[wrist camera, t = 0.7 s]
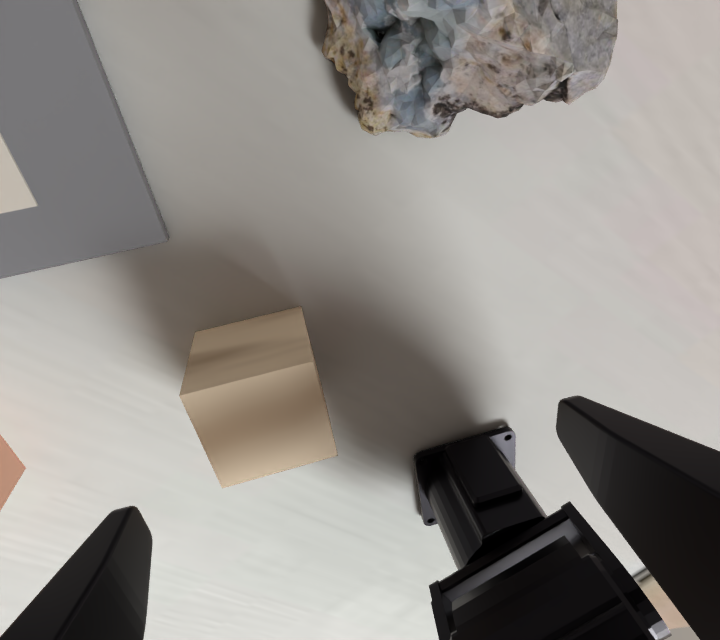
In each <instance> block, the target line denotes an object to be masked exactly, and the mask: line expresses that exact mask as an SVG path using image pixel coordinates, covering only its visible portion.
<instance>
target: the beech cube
mask: <svg viewBox="0 0 720 640" xmlns="http://www.w3.org/2000/svg"><path fill="white" fill-rule="evenodd" d="M179 396H180V398H181V400H182V403H183V405H184V407H185V409H186V411H187V413H188V415H189V418H190V420H191V422H192V424H193V426H194V428H195V431H196V433H197V435H198V437H199V439H200V441H201V443H202V446H203V448H204V450H205V452H206V454H207V456H208V459H209V461H210V463H211V465H212V467H213V469H214V471H215V474H216V476H217V478H218V480H219V482H220V484H221V487H222V488H225V487H229V486H232V485H236V484H239V483H243V482H246V481H250V480H253V479H257V478H260V477H264V476H267V475H271V474H275V473H278V472H282V471H285V470H289V469H292V468H296V467H299V466H303V465H306V464H310V463H313V462H317V461H320V460H324V459H327V458H331V457H334V456H338V454H337V450H336V445H335V441H334V437H333V432H332V428H331V424H330V419H329V415H328V411H327V406H326V402H325V398H324V393H323V389H322V385H321V381H320V377H319V374H318V370H317V366H316V362H315V358H314V354H313V350H312V347H311V343H310V339H309V335H308V331H307V327H306V323H305V320H304V316H303V312H302V308H301V306H300V307H296V308H292V309H288V310H284V311H279V312H275V313H271V314H267V315H263V316H259V317H255V318H251V319H247V320H243V321H239V322H234V323H230V324H226V325H222V326H218V327H214V328H210V329H206V330H202V331H198V332H195V335H194V339H193V343H192V347H191V351H190V355H189V359H188V363H187V367H186V371H185V375H184V379H183V383H182V387H181V391H180V395H179Z"/></svg>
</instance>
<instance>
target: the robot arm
mask: <svg viewBox="0 0 720 640" xmlns="http://www.w3.org/2000/svg"><path fill="white" fill-rule="evenodd" d="M556 431H557V435H558V438H559V439H560V441H561V443H562V445H563V446H564V448H565V449H566V451H567V453H568V454H569V456H570V458H571V459H572V461H573V463H574V464H575V466H576V468H577V469H578V471H579V473H580V474H581V476H582V478H583V479H584V481H585V483H586V484H587V486H588V488H589V489H590V491H591V493H592V494H593V496H594V497H595V499H596V500H597V502H598V503H599V504H600V506H601V507H602V509H603V510H604V511H605V513H606V514H607V515H608V517H609V518H610V519H611V521H612V522H613V523H614V525H615V526H616V527H617V529H618V530H619V532H620V533H621V534H622V536H623V537H624V538H625V540H626V541H627V542H628V544H629V545H630V546H631V548H632V549H633V550H634V552H635V553H636V554H637V556H638V557H639V558H640V560H641V561H642V562H643V564H644V565H645V566H646V568H647V569H648V570H649V572H650V573H651V574H652V576H653V577H654V578H655V580H656V581H657V582H658V584H659V585H660V586H661V588H662V589H663V591H664V592H665V593H666V595H667V596H668V597H669V599H670V600H671V601H672V603H673V604H674V605H675V607H676V608H677V609H678V611H679V612H680V613H681V615H682V616H683V617H684V619H685V620H686V621H687V623H688V624H689V625H690V627H691V628H692V629H693V631H694V632H695V633H696V635H697V636H698V637H699V639H700V640H720V451H717V450H715V449H712V448H710V447H707V446H705V445H702V444H700V443H697V442H695V441H692V440H690V439H687V438H685V437H682V436H680V435H677V434H675V433H672V432H670V431H667V430H665V429H662V428H660V427H657V426H655V425H652V424H650V423H647V422H645V421H642V420H640V419H637V418H635V417H632V416H629V415H627V414H624V413H622V412H619V411H617V410H614V409H612V408H609V407H607V406H604V405H602V404H599V403H597V402H594V401H592V400H589V399H587V398H584V397H582V396H572V397H568V398H564V399H562V400H560V402H559V404H558V413H557V423H556ZM515 438H516V435H515V433H514V431H513V430H512V429H511V428H510V427H504V428H500V429H497V430H494V431H490V432H487V433H483V434H480V435H476V436H473V437H469V438H466V439H463V440H459V441H456V442H452V443H449V444H445V445H442V446H438V447H435V448H432V449H428V450H425V451H421V452H419V453H417V454H416V455H415V456H414V459H413V460H414V467H415V474H416V481H417V488H418V495H419V501H420V508H421V515H422V519H423V522H424V524H425V525H426V526H431V525H434V524H438V525H439V527H440V529H441V532H442V534H443V536H444V539H445V541H446V543H447V546H448V548H449V550H450V553H451V555H452V557H453V560H454V562H455V564H456V567H457V569H458V571H456V572H454V573H453V574H451V575H449V576H448V577H446V578H444V579H443V580H441V581H438V580H437V581H436V582H434V583H432V584H431V585H429V588H430V593H431V597H432V602H431V605H432V609H433V614H434V618H435V623H436V627H437V632H438V636H439V640H664V639H666V638H668V637H670V636H671V632H670V631H669V629H668V627H667V626H666V624H665V623H664V621H663V619H662V618H661V617H660V615H659V614H658V612H657V611H656V609H655V608H654V606H653V605H652V604H651V602H650V601H649V599H648V598H647V597H646V595H645V594H644V593H643V591H642V590H641V588H640V587H639V586H638V584H637V583H636V582H635V581H634V579H633V578H632V577H631V575H630V574H629V573H628V571H627V570H626V569H625V568H624V566H623V565H622V564H621V563H620V561H619V560H618V559H617V558H616V556H615V555H614V554H613V553H612V552H611V550H610V549H609V548H608V547H607V546H606V544H605V543H604V542H603V541H602V540H601V538H600V537H599V536H598V535H597V534H596V532H595V531H594V530H593V529H592V528H591V526H590V525H589V524H588V523H587V522H586V520H585V519H584V518H583V517H582V516H581V514H580V513H579V512H578V511H577V509H576V508H575V507H574V506H573V505H572V503H571V502H570V501H569V502H568V503H566V504H564V505H563V506H561V509H560V510H558V511H556V512H555V513H553V514H551V515H550V516H548V517H547V515H546V514H545V512H544V511H543V509H542V508H541V507H540V505H539V504H538V502H537V501H536V499H535V498H534V496H533V495H532V494H531V492H530V491H529V489H528V488H527V486H526V485H525V484H524V482H523V481H522V479H521V478H520V476H519V475H518V473H517V472H516V471H515ZM423 459H424V460H423ZM421 460H422V461H421ZM151 555H152V535H151V532H150V530H149V528H148V526H147V524H146V522H145V521H144V519H143V517H142V515H141V513H140V511H139V510H138V508H137V507H135V506H129V507H125V508H120V509H116V510H114V511H112V512H111V513H110V514H109V515H108V516H107V517H106V518H105V519H104V520H103V521H102V522H101V524H100V525H99V526H98V527H97V528H96V529H95V530H94V532H93V533H92V534H91V535H90V536H89V537H88V538H87V539H86V541H85V542H84V543H83V544H82V545H81V546H80V547H79V548H78V550H77V551H76V552H75V553H74V554H73V555H72V556H71V558H70V559H69V560H68V561H67V562H66V563H65V564H64V565H63V567H62V568H61V569H60V570H59V571H58V572H57V573H56V574H55V576H54V577H53V578H52V579H51V580H50V581H49V582H48V584H47V585H46V586H45V587H44V588H43V589H42V590H41V591H40V593H39V594H38V595H37V596H36V597H35V598H34V599H33V601H32V602H31V603H30V604H29V605H28V606H27V607H26V608H25V610H24V611H23V612H22V613H21V614H20V615H19V616H18V617H17V619H16V620H15V621H14V622H13V623H12V624H11V625H10V627H9V628H8V629H7V630H6V631H5V632H4V633H3V634H2V636H1V637H0V640H143V638H144V631H145V625H146V616H147V604H148V592H149V580H150V567H151Z"/></svg>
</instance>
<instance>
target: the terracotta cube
mask: <svg viewBox="0 0 720 640" xmlns="http://www.w3.org/2000/svg"><path fill="white" fill-rule="evenodd" d="M25 469H26V467H25V466H24V465H23V464H22V462H21V461H20V460H19V458H18V457H17V456H16V454H15V453H14V452H13V450H12V449H11V448H10V446H9V445H8V444H7V443H6V441H5V440H4V439H3V437H2V436H1V435H0V510H1V509H2V507H3V505H4V504H5V502H6V500H7V499H8V497H9V495H10V494H11V492H12V490H13V489H14V487H15V485H16V484H17V482H18V480H19V479H20V477H21V475H22V474H23V472H24V470H25Z"/></svg>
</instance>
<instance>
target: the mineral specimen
mask: <svg viewBox="0 0 720 640" xmlns="http://www.w3.org/2000/svg"><path fill="white" fill-rule="evenodd" d="M324 1H325V4H326V7H327V13H328V26H327V31H326V36H325V41H324V44H323V48H322V53H323V54H324V56H325V58H326V59H331V61H332V62H333V63H334V64H335V65H336V70H338V71H339V72H340V73H342V74H345V75H346V76H347V78H348V86H349V87H350V88H351V89H352V90H353V91H354V92H355V93H356V96H355V100H354V105H355V109H356V110H357V111H359V113H358V118H359V123H360V125H361V128H362V129H363V130H365V131H366V132H368V133H370V134H372V135H375V136H376V135H378V134H380V133H382V132H385V131H393V132H399V131H407V132H409V133H411V134H413V135H415V136H416V137H424V138H435V137H439V136H442V135H444V134H446V133H447V132H448V131H449V129H450V126H451V124H452V122H453V120H454V118H455V116H456V114H457V113H459V112H461V111H464V110H466V109H467V108H470V109H472V110H475V111H477V112H480V113H483V114H487V115H490V116H493V117H496V118H502V117H506V116H508V115H509V114H511V113H513V112H516V111H518V110H520V108H521V107H522V106H523V105H524V104H525V105H530V106H532V105H534V104H536V103H537V102H539V101H541V100H543V99H544V100H546V101H551V102H559V101H562V100H563V101H564V102H565V103H567V104H568V105H570V104H571V103H572V102H574V101H575V100H576V99H578V98H579V97H580V96H582V95H583V94H584V93H586V92H588V91H590V90H593V89H595V88H596V87H597V86H598V85H599V84H600V83H601V81H602V80H603V79H604V78H605V75H606V73H607V70H608V68H609V65H610V62H611V57H612V53H613V48H614V45H615V41H616V38H617V27H618V20H617V0H324Z"/></svg>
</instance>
